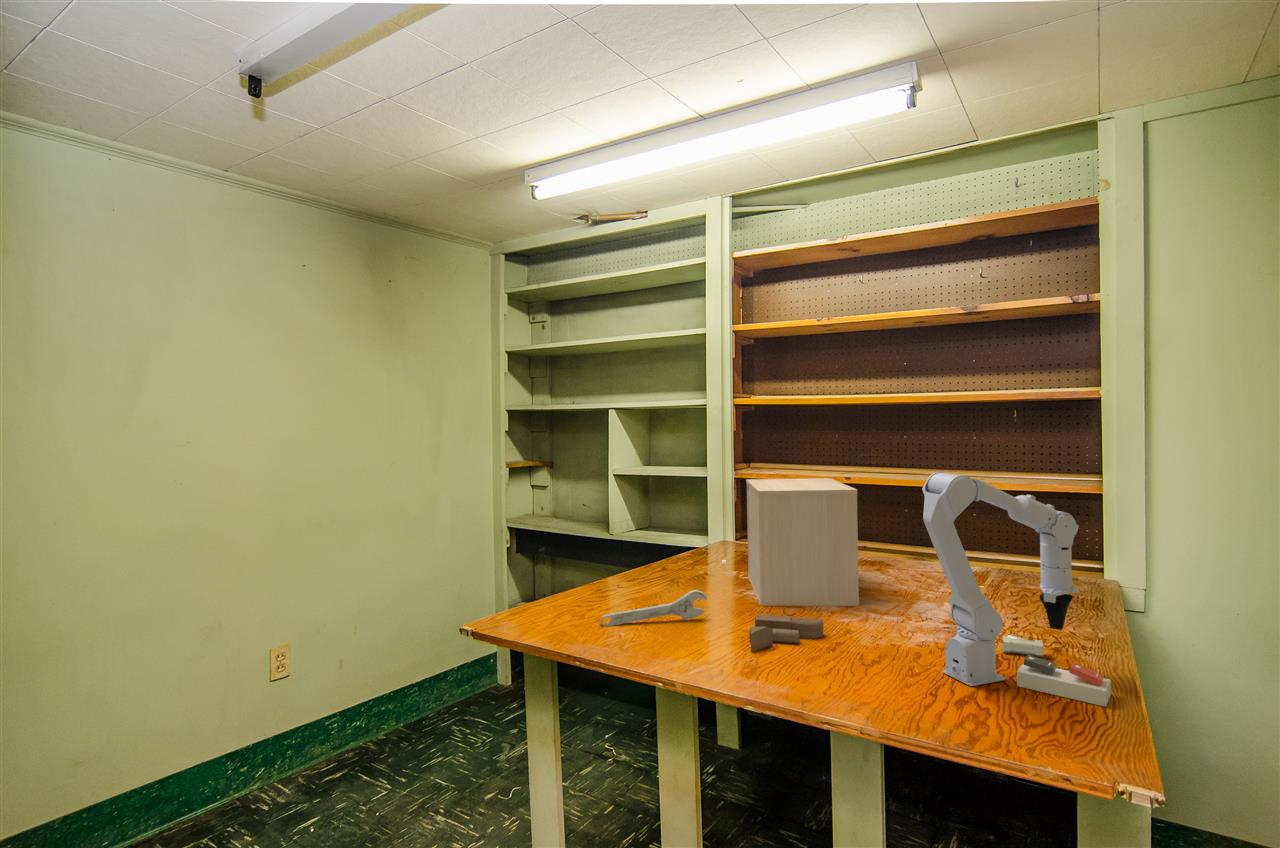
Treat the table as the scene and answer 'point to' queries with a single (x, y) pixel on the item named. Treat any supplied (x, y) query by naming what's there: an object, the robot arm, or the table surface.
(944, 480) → the robot arm
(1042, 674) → the rocker switch panel
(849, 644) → the table surface
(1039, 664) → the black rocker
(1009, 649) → the pipe fitting
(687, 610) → the wrench
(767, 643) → the wooden block set
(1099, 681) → the red rocker
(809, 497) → the beige wooden block
